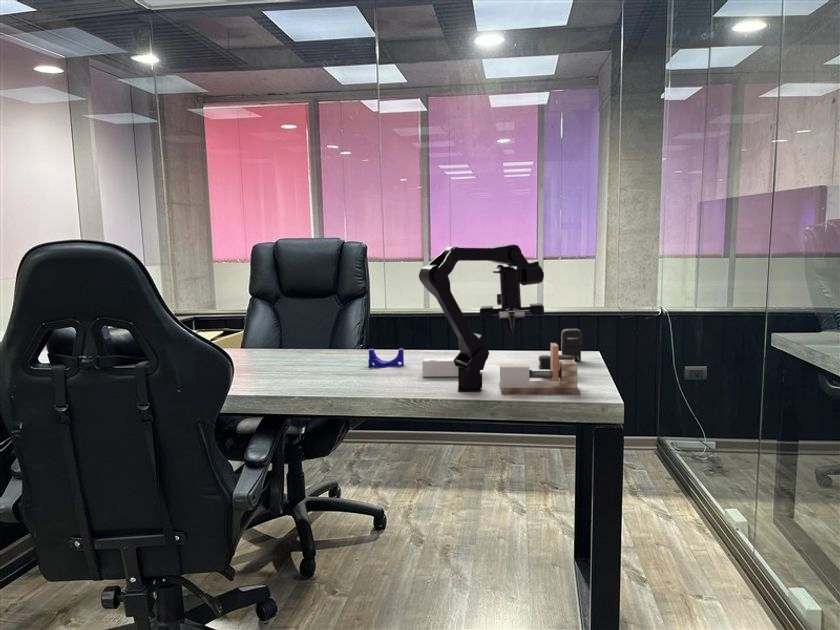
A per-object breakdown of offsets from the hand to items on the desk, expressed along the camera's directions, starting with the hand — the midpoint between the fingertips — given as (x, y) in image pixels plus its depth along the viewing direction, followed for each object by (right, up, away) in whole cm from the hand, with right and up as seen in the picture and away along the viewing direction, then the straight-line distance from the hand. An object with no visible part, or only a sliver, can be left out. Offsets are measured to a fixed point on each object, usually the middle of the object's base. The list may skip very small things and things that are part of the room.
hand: (513, 339), depth 169 cm
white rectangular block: (-1, -14, -6) cm, 15 cm away
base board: (+6, -14, -6) cm, 17 cm away
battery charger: (+26, -9, +32) cm, 42 cm away
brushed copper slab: (+9, -11, -7) cm, 16 cm away
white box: (-18, -12, +16) cm, 27 cm away
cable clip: (-40, -11, +31) cm, 52 cm away
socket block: (+14, -14, -7) cm, 21 cm away
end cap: (+15, -12, +10) cm, 22 cm away
